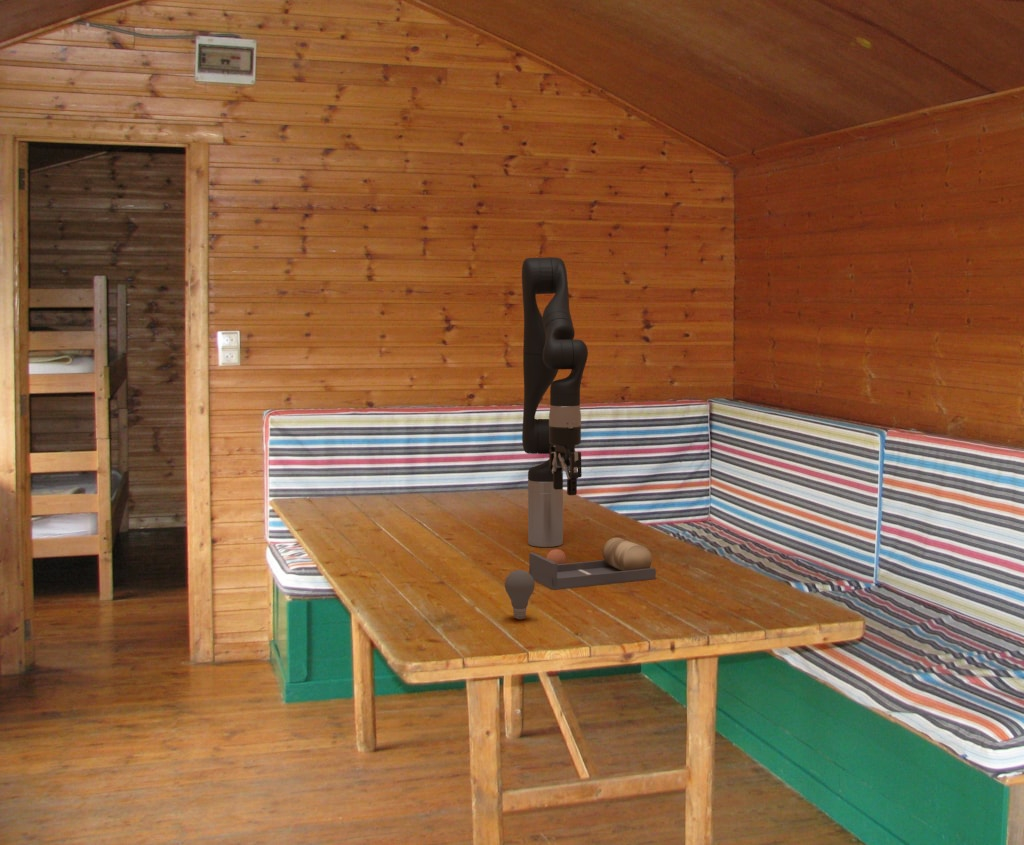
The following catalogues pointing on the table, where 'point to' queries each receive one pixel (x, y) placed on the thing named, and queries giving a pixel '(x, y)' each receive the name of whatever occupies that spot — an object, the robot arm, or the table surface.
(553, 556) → the ball
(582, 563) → the runway
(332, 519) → the table surface
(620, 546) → the log roller
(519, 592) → the light bulb
